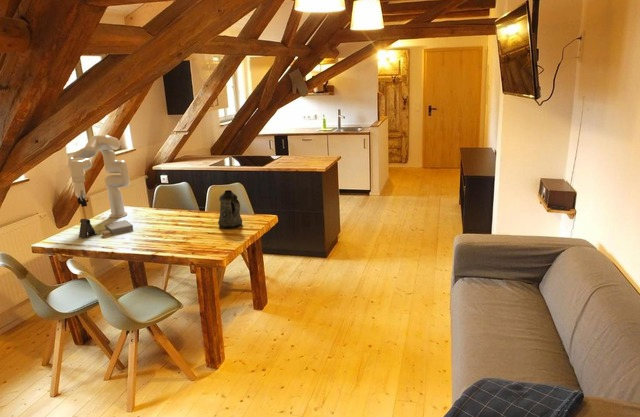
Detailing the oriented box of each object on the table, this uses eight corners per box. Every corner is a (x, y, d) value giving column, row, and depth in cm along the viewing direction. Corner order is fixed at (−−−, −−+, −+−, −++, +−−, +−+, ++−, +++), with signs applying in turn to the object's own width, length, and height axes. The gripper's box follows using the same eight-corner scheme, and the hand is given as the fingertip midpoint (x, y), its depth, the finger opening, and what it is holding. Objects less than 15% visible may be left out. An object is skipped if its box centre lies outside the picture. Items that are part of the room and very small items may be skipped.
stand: (105, 229, 324) (104, 224, 323) (126, 225, 332) (125, 219, 331) (112, 235, 312) (111, 229, 311) (133, 230, 320) (132, 224, 319)
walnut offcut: (102, 235, 312) (101, 231, 311) (108, 234, 314) (108, 230, 313) (104, 237, 308) (104, 233, 307) (111, 236, 310) (110, 232, 309)
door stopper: (84, 239, 306) (81, 221, 303) (78, 237, 309) (75, 220, 305) (96, 234, 313) (93, 217, 310) (90, 233, 316) (87, 216, 313)
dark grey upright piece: (226, 221, 334) (223, 187, 327) (250, 223, 327) (248, 188, 321) (213, 228, 319) (210, 193, 312) (239, 230, 312) (236, 194, 306)
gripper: (69, 178, 306) (73, 203, 310) (74, 182, 292) (79, 208, 297) (81, 176, 310) (85, 201, 314) (87, 180, 297) (92, 206, 301)
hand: (82, 205), depth 305 cm, fingers open, 9 cm apart
